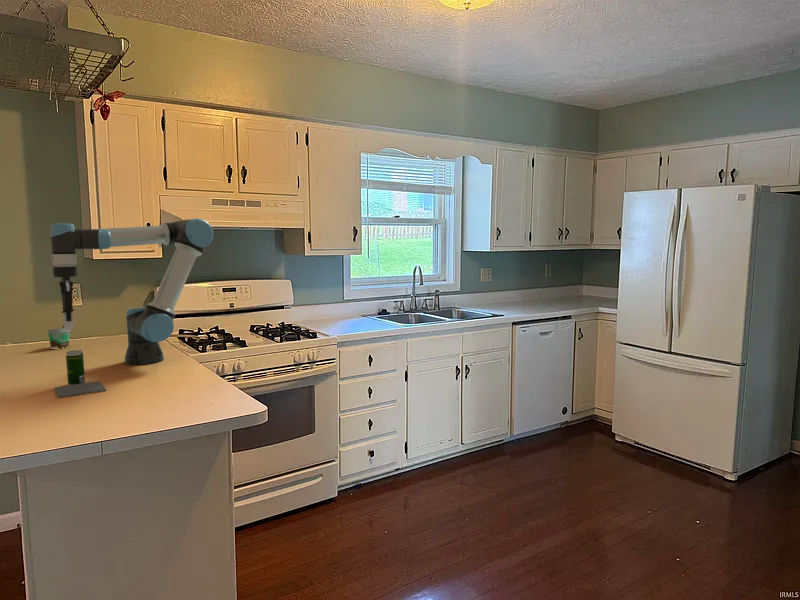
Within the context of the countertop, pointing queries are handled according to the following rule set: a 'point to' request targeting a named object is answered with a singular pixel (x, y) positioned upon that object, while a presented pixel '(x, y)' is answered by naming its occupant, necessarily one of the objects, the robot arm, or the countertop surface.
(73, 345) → the countertop surface
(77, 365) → the green soda can
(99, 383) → the rubber mat
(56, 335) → the food container
